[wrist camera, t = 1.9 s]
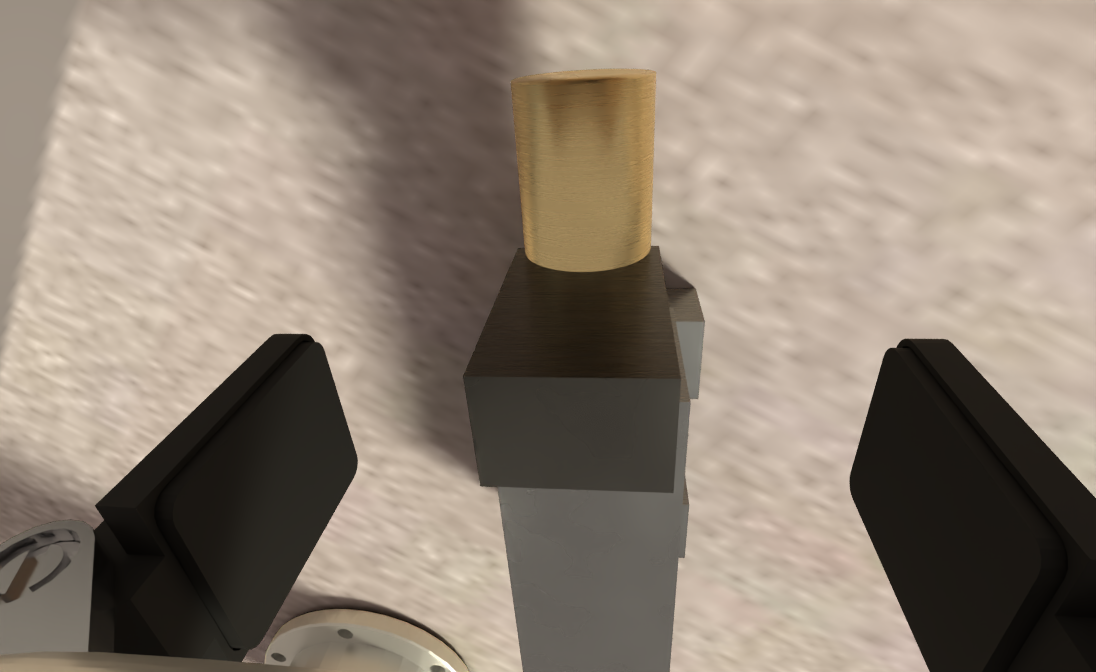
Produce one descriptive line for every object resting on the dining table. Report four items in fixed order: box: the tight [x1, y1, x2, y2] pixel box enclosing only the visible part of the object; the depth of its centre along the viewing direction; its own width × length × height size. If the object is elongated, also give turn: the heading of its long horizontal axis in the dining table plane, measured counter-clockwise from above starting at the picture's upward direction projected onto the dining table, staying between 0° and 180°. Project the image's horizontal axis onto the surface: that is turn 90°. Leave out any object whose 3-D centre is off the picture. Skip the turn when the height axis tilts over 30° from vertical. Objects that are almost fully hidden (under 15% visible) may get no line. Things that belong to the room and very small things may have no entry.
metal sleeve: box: [497, 288, 705, 672], centre depth 20 cm, size 12×7×8 cm, turn 3°
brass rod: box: [463, 69, 681, 493], centre depth 15 cm, size 18×4×8 cm, turn 3°
